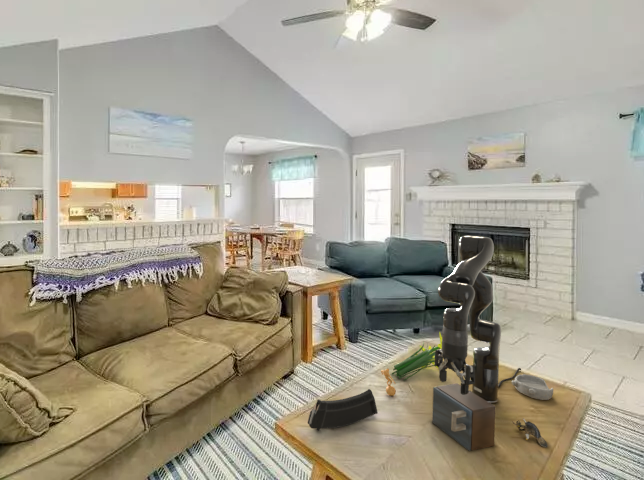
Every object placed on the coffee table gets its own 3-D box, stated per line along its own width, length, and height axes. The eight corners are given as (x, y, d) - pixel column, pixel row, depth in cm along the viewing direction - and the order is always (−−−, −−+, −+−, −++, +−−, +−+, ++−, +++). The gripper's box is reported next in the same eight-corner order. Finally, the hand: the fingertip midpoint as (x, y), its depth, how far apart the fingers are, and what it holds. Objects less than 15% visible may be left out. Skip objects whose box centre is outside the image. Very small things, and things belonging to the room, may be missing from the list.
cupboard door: (456, 453, 126) (457, 413, 125) (420, 424, 141) (421, 388, 141) (471, 450, 127) (472, 411, 127) (434, 422, 143) (435, 386, 142)
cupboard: (471, 450, 127) (472, 410, 127) (434, 422, 143) (435, 386, 142) (494, 445, 130) (495, 406, 130) (455, 418, 146) (457, 383, 145)
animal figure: (510, 433, 135) (539, 443, 127) (512, 412, 138) (541, 421, 130) (521, 440, 138) (550, 450, 130) (523, 419, 140) (552, 429, 133)
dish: (535, 384, 172) (535, 373, 172) (562, 401, 159) (563, 389, 158) (504, 384, 172) (505, 373, 172) (529, 401, 158) (530, 389, 158)
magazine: (377, 388, 149) (317, 380, 138) (383, 392, 146) (323, 384, 135) (366, 431, 148) (305, 427, 137) (372, 436, 145) (310, 432, 134)
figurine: (401, 399, 158) (402, 371, 158) (389, 401, 156) (390, 373, 156) (388, 389, 166) (388, 363, 166) (376, 391, 164) (377, 364, 164)
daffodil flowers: (380, 369, 187) (432, 342, 198) (402, 396, 176) (455, 366, 187) (388, 350, 177) (442, 323, 188) (412, 378, 166) (467, 347, 177)
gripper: (482, 348, 121) (480, 397, 121) (446, 331, 134) (445, 376, 135) (463, 350, 119) (462, 400, 119) (429, 333, 133) (428, 378, 133)
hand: (453, 387), depth 127 cm, fingers open, 8 cm apart
